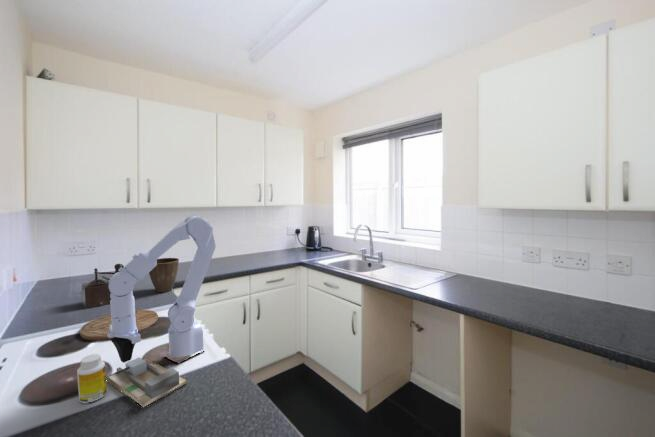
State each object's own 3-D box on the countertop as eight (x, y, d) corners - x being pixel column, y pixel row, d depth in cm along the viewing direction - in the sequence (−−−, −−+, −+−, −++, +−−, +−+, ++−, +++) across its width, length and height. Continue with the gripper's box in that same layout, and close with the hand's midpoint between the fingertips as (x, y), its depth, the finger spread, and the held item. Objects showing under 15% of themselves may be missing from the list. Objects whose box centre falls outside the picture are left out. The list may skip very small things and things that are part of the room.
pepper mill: (86, 309, 137) (83, 269, 135) (82, 303, 144) (79, 265, 143) (126, 300, 148) (124, 263, 146) (121, 295, 155) (119, 260, 154)
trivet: (172, 317, 128) (172, 312, 128) (116, 345, 104) (116, 340, 104) (125, 311, 135) (124, 307, 135) (62, 337, 111) (62, 331, 111)
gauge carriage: (139, 367, 88) (139, 357, 88) (146, 371, 86) (146, 361, 86) (112, 379, 83) (112, 368, 82) (119, 384, 80) (119, 373, 80)
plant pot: (145, 290, 164) (143, 260, 162) (175, 284, 174) (173, 256, 172) (152, 297, 153) (150, 265, 151) (183, 290, 163) (182, 260, 161)
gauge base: (148, 362, 93) (147, 348, 93) (186, 384, 82) (185, 368, 82) (106, 380, 84) (105, 365, 84) (143, 408, 73) (142, 390, 73)
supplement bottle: (109, 396, 77) (107, 357, 77) (81, 408, 73) (78, 366, 72) (104, 387, 81) (101, 349, 80) (77, 397, 77) (74, 358, 76)
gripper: (96, 313, 88) (99, 359, 89) (119, 325, 80) (122, 375, 81) (123, 306, 94) (125, 349, 95) (147, 316, 86) (150, 363, 87)
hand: (126, 360), depth 89 cm, fingers closed
